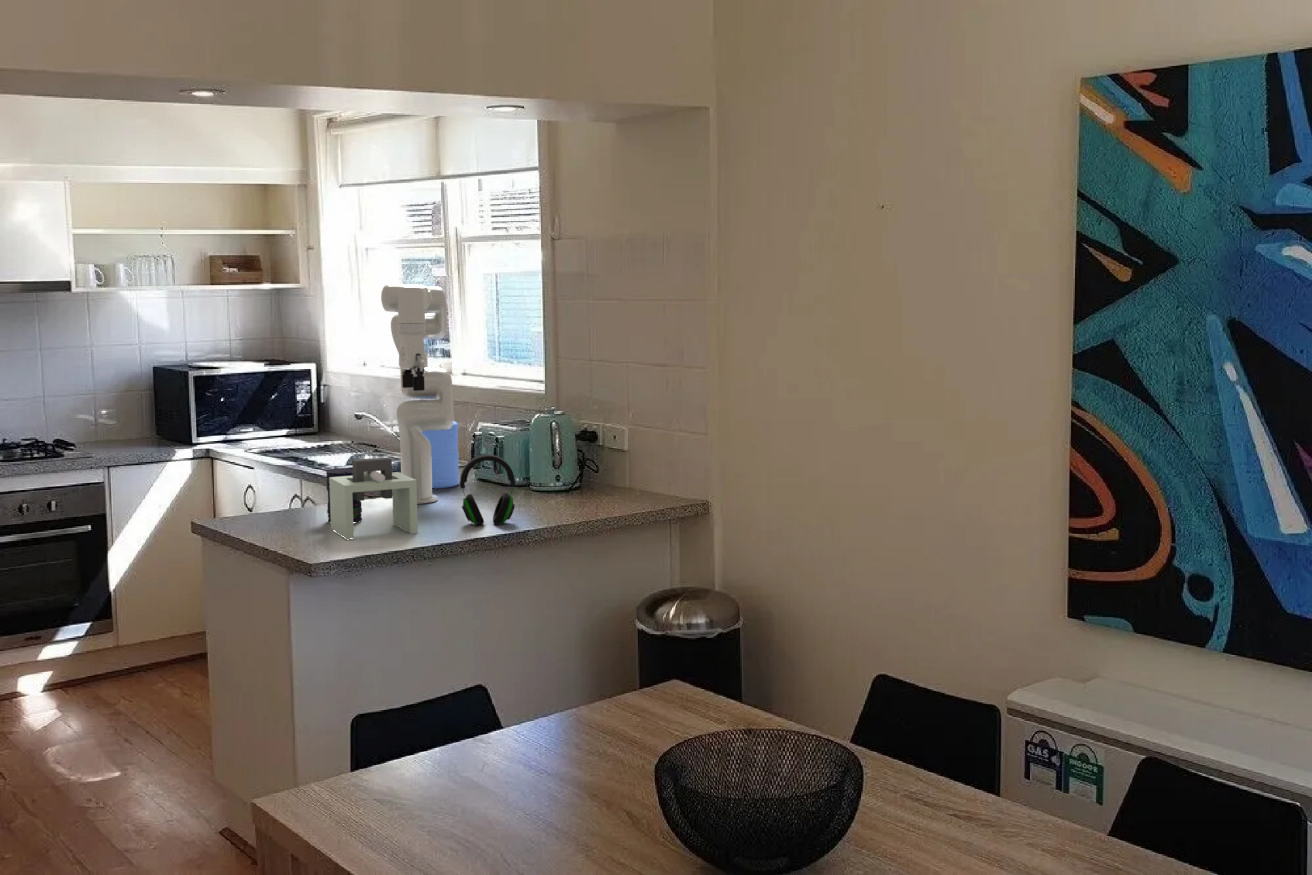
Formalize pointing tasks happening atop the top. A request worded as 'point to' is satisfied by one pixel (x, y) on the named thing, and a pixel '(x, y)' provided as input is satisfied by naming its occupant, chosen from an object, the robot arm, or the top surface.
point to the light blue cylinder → (444, 456)
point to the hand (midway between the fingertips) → (413, 389)
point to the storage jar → (357, 504)
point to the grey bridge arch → (371, 465)
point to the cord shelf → (400, 485)
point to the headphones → (505, 501)
